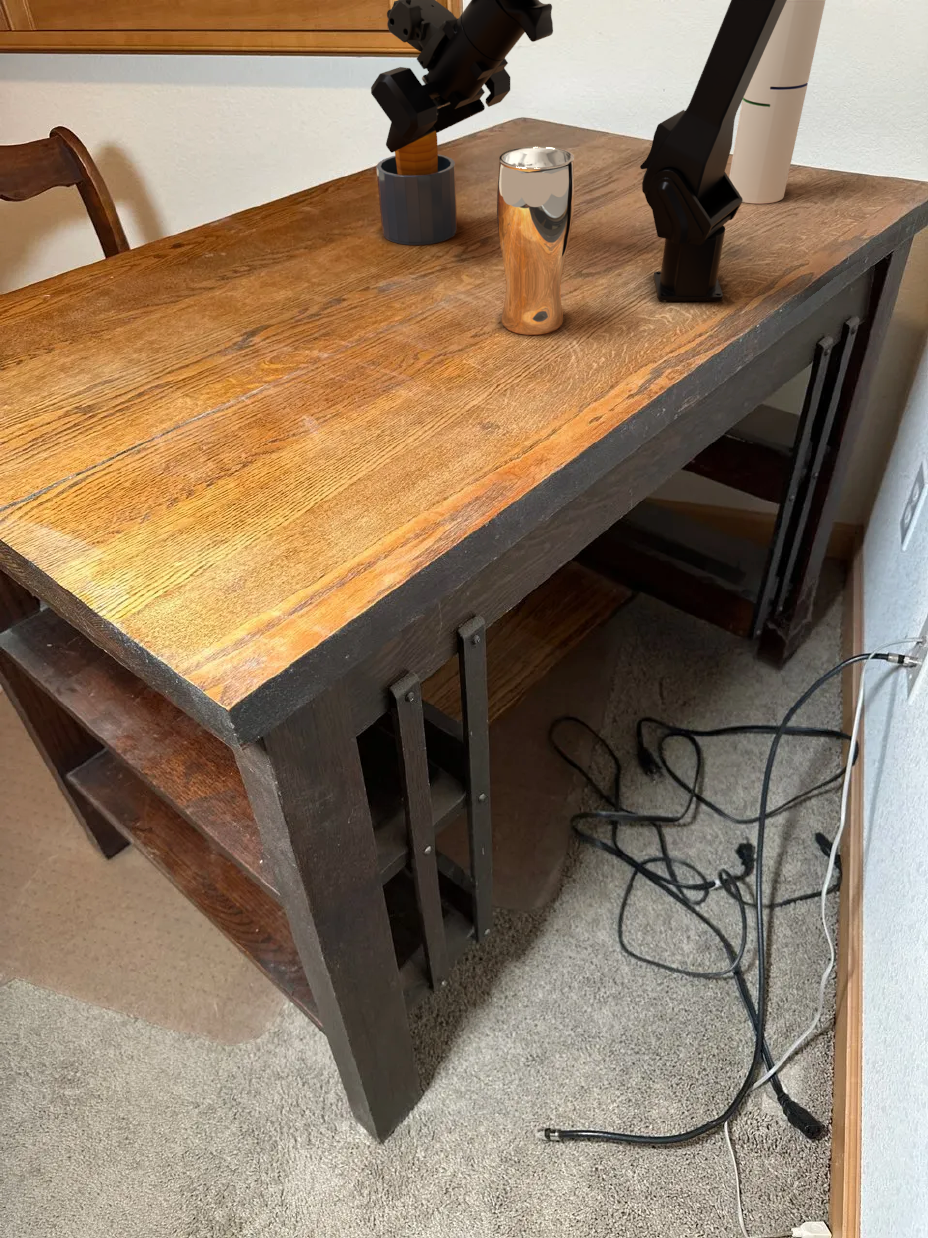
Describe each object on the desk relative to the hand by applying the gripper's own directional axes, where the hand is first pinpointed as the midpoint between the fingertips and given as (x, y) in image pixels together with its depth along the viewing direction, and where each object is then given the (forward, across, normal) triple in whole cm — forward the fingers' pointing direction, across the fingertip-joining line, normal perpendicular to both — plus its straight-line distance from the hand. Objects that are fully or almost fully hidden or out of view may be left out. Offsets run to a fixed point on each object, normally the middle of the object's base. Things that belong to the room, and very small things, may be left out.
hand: (405, 141), depth 99 cm
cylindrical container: (-15, -32, +29) cm, 46 cm away
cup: (+6, 0, +8) cm, 10 cm away
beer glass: (-11, +15, +25) cm, 31 cm away
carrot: (+6, 0, +8) cm, 10 cm away
